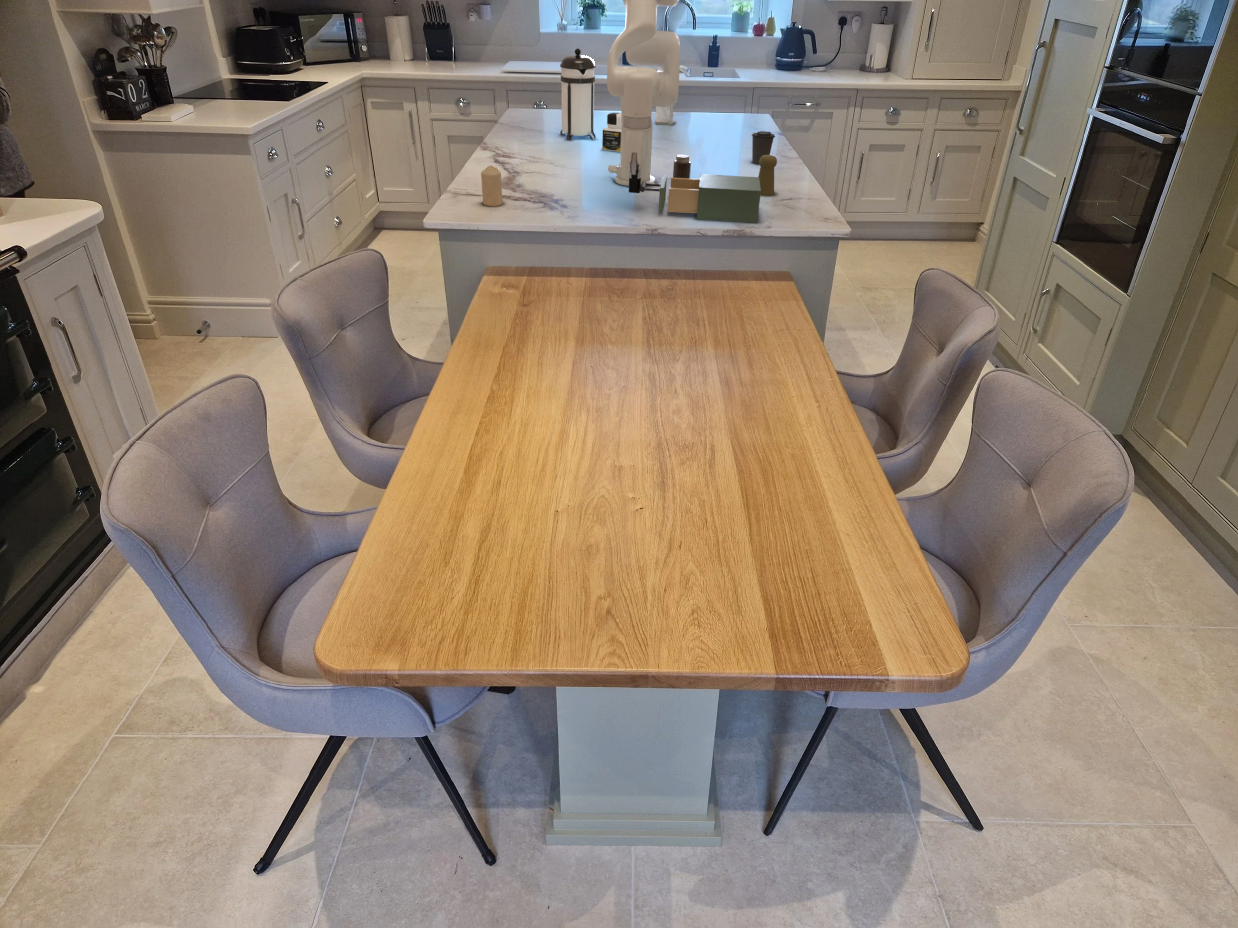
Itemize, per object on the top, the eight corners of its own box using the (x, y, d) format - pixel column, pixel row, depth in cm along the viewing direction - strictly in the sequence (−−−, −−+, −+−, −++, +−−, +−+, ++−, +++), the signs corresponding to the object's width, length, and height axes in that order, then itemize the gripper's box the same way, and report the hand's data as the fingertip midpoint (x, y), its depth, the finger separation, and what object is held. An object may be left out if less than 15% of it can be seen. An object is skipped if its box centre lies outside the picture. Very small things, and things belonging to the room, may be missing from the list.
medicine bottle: (601, 150, 289) (602, 114, 282) (609, 146, 295) (610, 111, 288) (620, 152, 287) (621, 116, 280) (627, 148, 292) (629, 113, 286)
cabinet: (696, 219, 223) (699, 187, 218) (697, 204, 235) (700, 174, 230) (757, 223, 221) (760, 191, 217) (755, 208, 234) (759, 177, 229)
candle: (483, 200, 232) (481, 164, 226) (502, 201, 232) (501, 164, 227) (482, 206, 227) (480, 169, 222) (502, 206, 228) (500, 169, 222)
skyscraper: (652, 123, 331) (655, 47, 315) (654, 120, 338) (658, 45, 322) (672, 125, 330) (677, 48, 314) (674, 121, 337) (679, 46, 321)
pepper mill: (671, 200, 238) (673, 157, 231) (672, 195, 242) (674, 153, 235) (688, 201, 238) (691, 158, 231) (688, 196, 242) (691, 154, 235)
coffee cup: (776, 163, 280) (780, 132, 274) (763, 167, 275) (766, 135, 269) (757, 159, 284) (760, 128, 279) (743, 162, 279) (746, 131, 274)
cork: (773, 196, 244) (778, 158, 238) (753, 195, 245) (758, 157, 239) (774, 191, 249) (779, 154, 243) (754, 189, 250) (759, 152, 244)
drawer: (637, 212, 224) (638, 186, 220) (641, 198, 235) (642, 174, 231) (714, 216, 222) (716, 191, 219) (714, 203, 233) (717, 178, 230)
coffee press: (606, 136, 309) (608, 48, 292) (582, 143, 297) (583, 52, 281) (569, 130, 316) (569, 44, 300) (545, 136, 305) (543, 48, 288)
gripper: (626, 117, 224) (624, 185, 234) (620, 127, 212) (618, 198, 222) (653, 118, 223) (650, 186, 234) (648, 129, 211) (645, 200, 221)
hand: (634, 192), depth 228 cm, fingers closed
